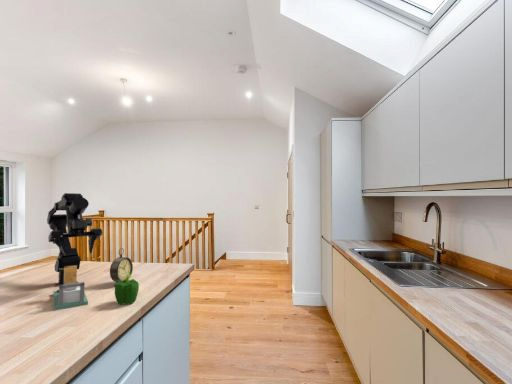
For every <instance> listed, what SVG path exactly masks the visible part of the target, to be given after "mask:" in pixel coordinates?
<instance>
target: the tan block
mask: <svg viewBox="0 0 512 384" xmlns="http://www.w3.org/2000/svg"><path fill="white" fill-rule="evenodd" d="M77 272H78V269H77V266H76V265H75V266H65V267H64V285H65V284H73V283H76V281H78V280H77V279H78V278H77V276H78V275H77V274H78V273H77ZM63 289H66V290H72V289H76V287H70V288H63Z"/></svg>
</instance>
